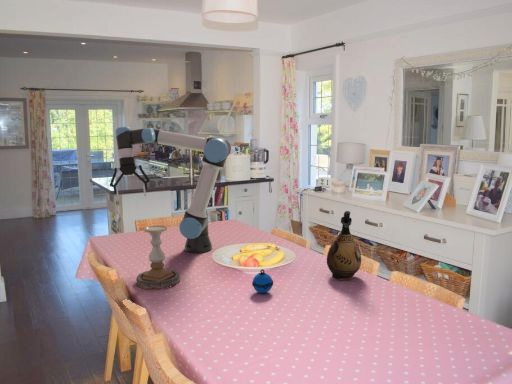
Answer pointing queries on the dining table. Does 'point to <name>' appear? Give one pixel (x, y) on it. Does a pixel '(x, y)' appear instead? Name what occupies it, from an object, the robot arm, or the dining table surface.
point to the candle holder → (156, 257)
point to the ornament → (262, 282)
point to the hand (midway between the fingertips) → (131, 198)
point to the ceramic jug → (344, 253)
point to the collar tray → (157, 284)
